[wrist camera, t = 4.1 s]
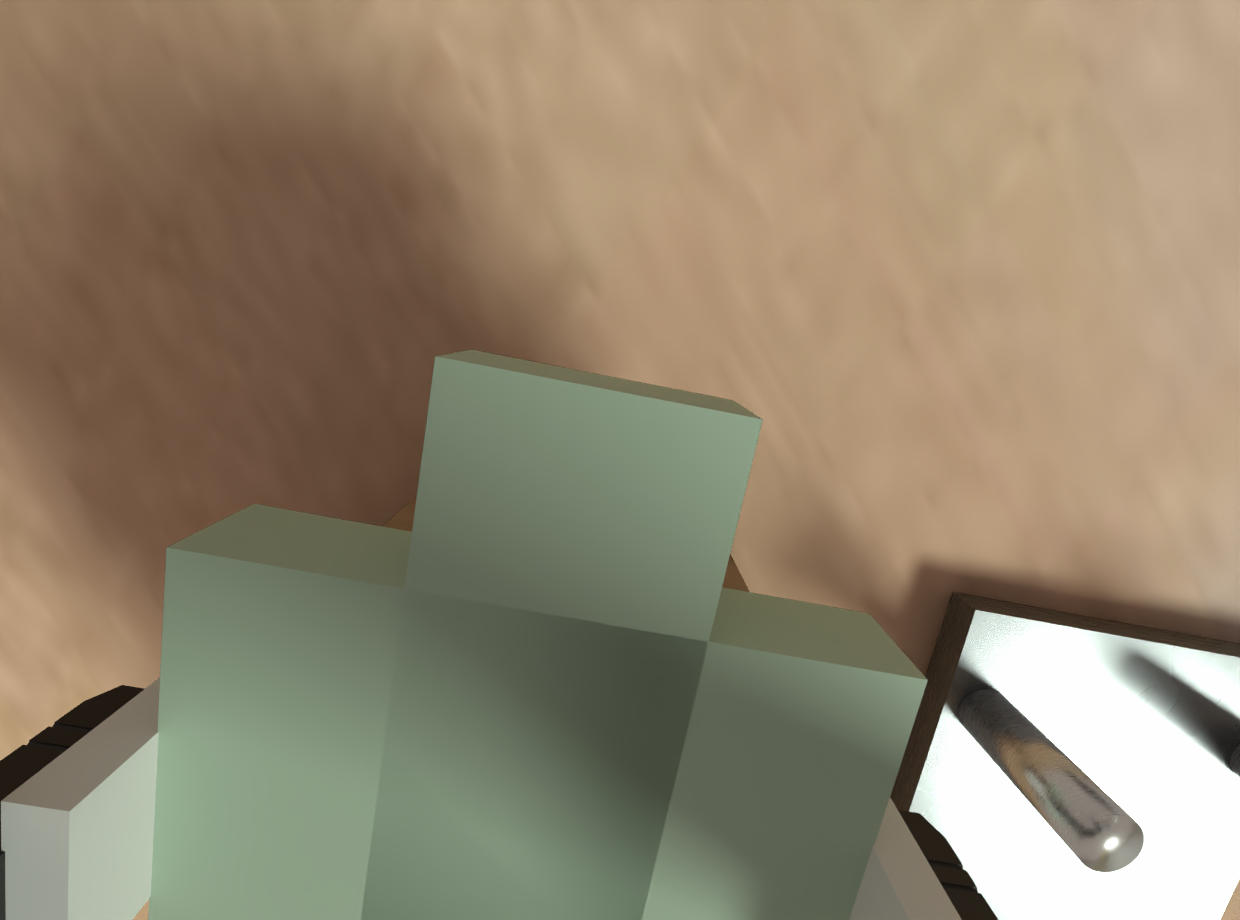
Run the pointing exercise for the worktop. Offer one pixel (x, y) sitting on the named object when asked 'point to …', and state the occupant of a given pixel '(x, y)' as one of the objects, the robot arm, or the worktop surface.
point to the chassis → (1080, 763)
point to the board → (520, 685)
